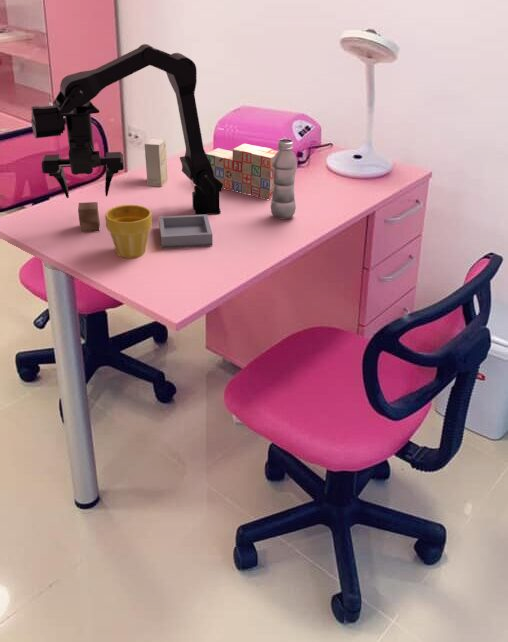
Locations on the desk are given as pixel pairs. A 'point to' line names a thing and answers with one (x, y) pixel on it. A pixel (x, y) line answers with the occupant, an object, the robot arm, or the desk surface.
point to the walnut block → (88, 217)
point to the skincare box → (156, 162)
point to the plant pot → (129, 229)
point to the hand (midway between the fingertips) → (87, 196)
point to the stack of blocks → (245, 169)
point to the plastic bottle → (284, 180)
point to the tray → (185, 231)
